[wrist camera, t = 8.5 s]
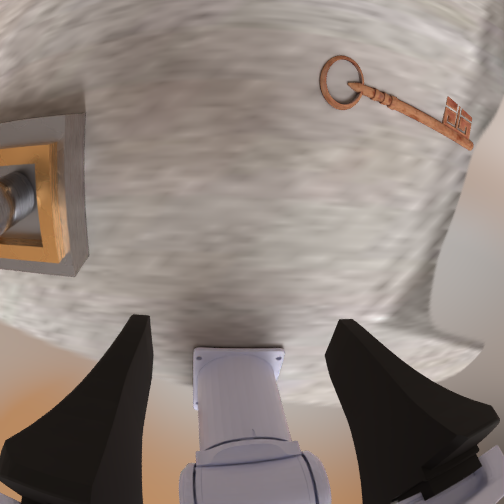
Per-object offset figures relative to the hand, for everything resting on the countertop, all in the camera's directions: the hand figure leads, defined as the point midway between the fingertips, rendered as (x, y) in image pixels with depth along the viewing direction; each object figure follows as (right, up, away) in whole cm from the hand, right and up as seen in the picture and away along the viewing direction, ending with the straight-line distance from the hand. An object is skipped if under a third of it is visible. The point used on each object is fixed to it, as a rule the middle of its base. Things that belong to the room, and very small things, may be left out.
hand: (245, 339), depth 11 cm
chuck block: (-15, +8, +6) cm, 18 cm away
